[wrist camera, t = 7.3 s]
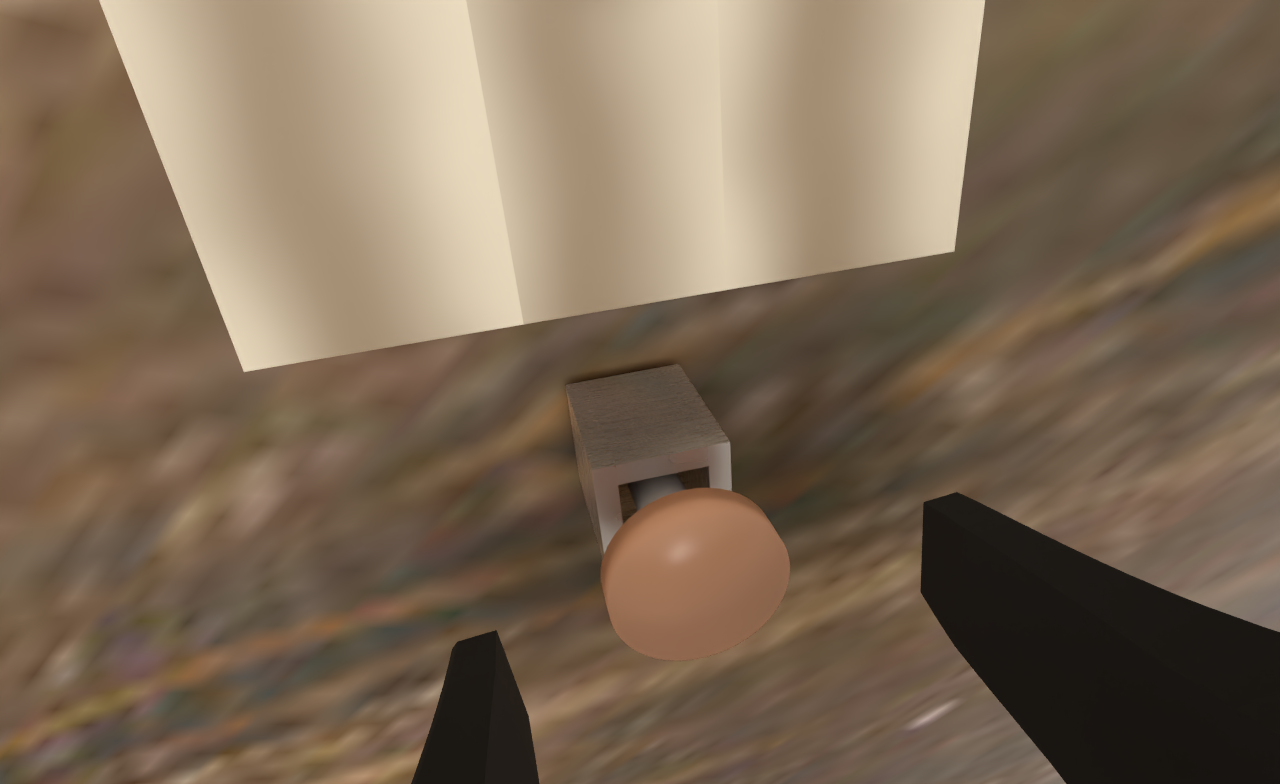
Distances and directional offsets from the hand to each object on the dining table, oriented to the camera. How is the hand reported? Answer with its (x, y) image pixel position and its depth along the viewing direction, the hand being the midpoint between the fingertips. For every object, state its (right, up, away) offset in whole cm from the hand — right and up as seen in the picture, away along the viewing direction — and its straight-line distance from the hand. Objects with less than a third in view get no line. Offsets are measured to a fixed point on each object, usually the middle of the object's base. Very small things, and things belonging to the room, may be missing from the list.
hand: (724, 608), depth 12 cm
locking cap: (-1, +2, +6) cm, 6 cm away
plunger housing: (-2, +3, +8) cm, 9 cm away
